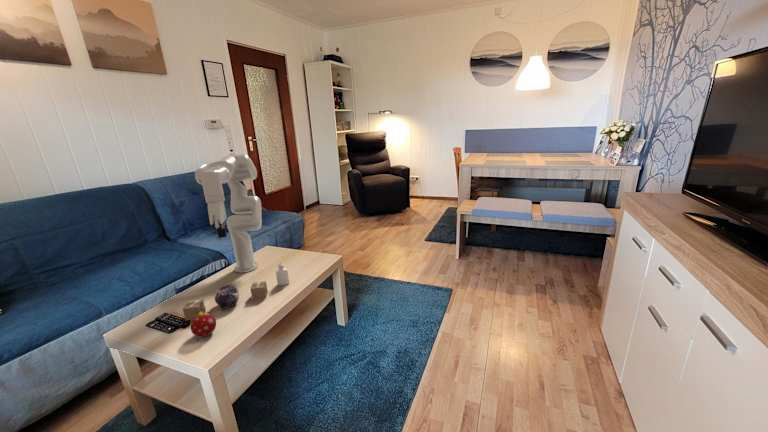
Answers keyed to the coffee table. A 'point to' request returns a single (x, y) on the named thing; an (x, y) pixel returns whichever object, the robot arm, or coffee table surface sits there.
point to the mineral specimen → (226, 296)
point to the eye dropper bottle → (282, 275)
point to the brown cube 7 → (193, 309)
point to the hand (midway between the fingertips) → (222, 236)
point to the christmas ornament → (203, 324)
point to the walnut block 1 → (259, 290)
